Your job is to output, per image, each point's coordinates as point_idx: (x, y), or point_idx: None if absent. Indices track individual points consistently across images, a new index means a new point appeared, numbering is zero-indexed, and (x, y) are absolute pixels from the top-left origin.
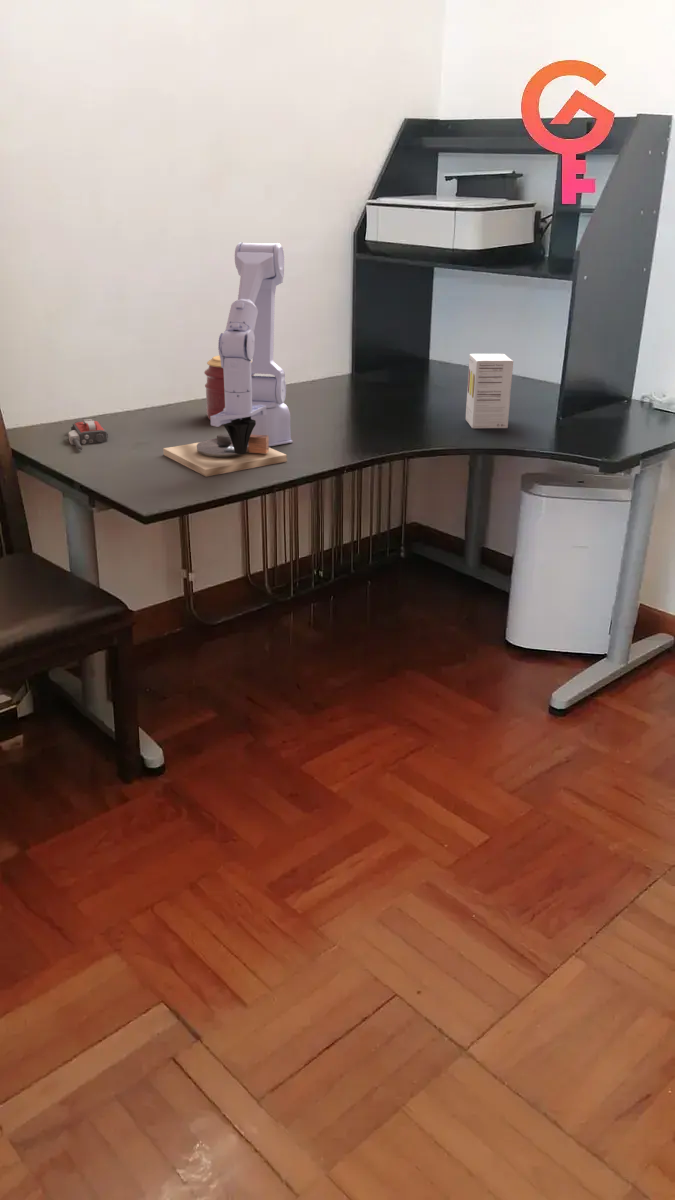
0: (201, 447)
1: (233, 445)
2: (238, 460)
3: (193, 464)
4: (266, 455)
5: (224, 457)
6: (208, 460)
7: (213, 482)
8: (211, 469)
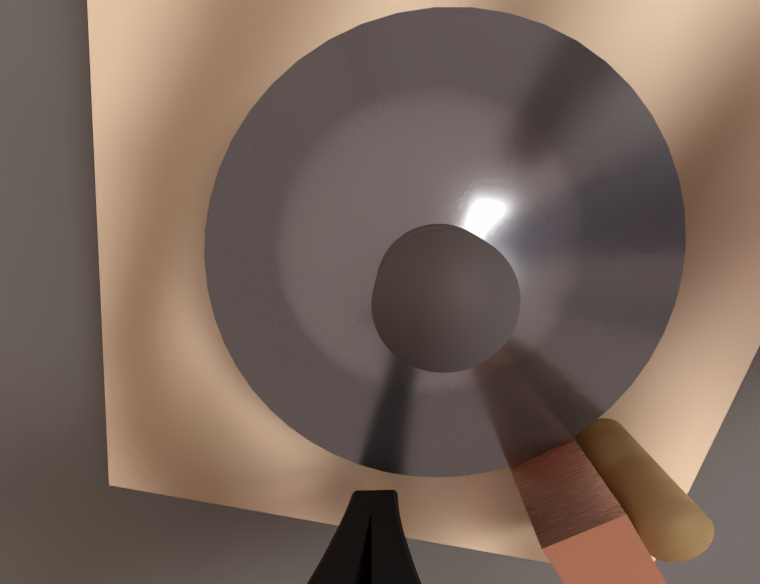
0: (242, 209)
1: (336, 535)
2: (359, 482)
3: (107, 348)
4: None
5: None
6: (215, 363)
7: (126, 534)
8: (149, 487)
